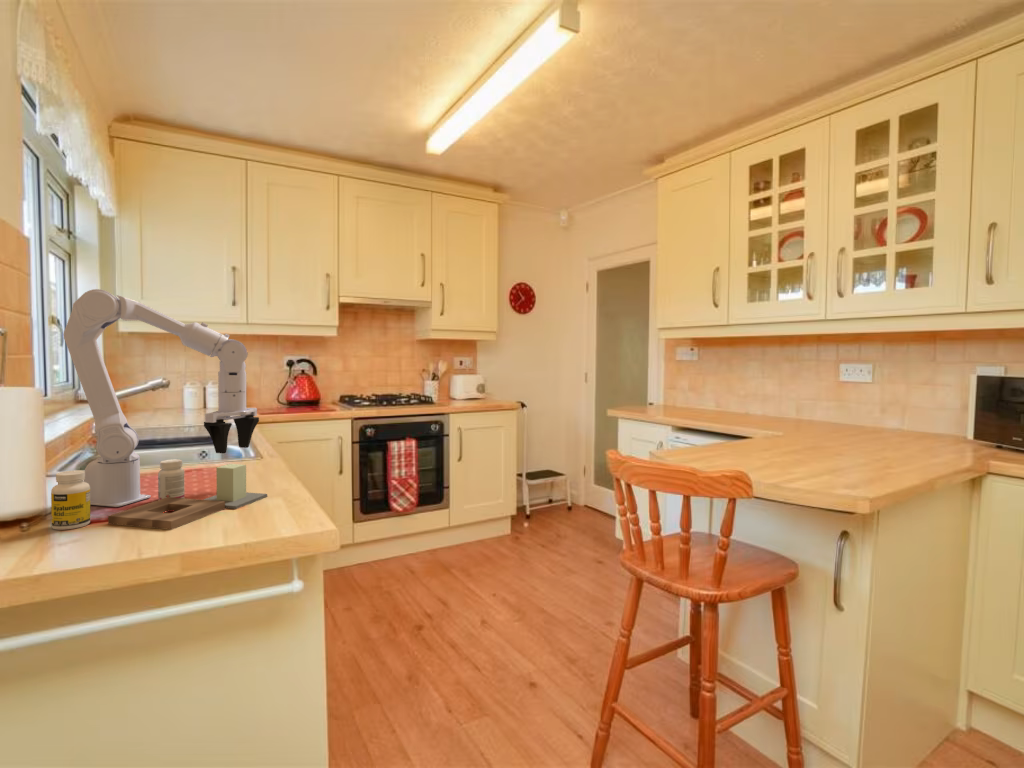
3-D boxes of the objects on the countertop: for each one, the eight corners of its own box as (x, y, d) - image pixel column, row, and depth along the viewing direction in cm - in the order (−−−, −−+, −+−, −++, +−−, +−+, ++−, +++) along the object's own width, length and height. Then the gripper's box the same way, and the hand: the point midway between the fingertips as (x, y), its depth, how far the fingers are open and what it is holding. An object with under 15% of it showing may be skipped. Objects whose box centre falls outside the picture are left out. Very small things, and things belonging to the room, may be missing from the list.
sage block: (216, 500, 110) (216, 467, 110) (230, 495, 114) (229, 463, 114) (233, 501, 110) (233, 468, 109) (246, 496, 114) (246, 464, 113)
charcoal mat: (193, 505, 108) (193, 502, 108) (227, 493, 118) (227, 491, 118) (236, 509, 106) (236, 506, 106) (267, 496, 116) (267, 493, 116)
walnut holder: (108, 523, 96) (108, 515, 96) (168, 504, 109) (168, 497, 109) (171, 529, 93) (171, 521, 93) (225, 508, 106) (225, 501, 106)
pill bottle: (189, 497, 115) (189, 459, 114) (173, 503, 110) (173, 463, 109) (169, 496, 115) (169, 458, 115) (152, 501, 110) (152, 462, 110)
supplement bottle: (47, 532, 91) (45, 476, 90) (57, 523, 95) (55, 470, 95) (86, 528, 93) (85, 474, 93) (94, 519, 98) (93, 468, 97)
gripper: (225, 394, 112) (225, 456, 113) (268, 390, 126) (268, 445, 127) (196, 393, 113) (197, 454, 114) (242, 389, 128) (242, 444, 128)
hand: (232, 450), depth 121 cm, fingers open, 7 cm apart
